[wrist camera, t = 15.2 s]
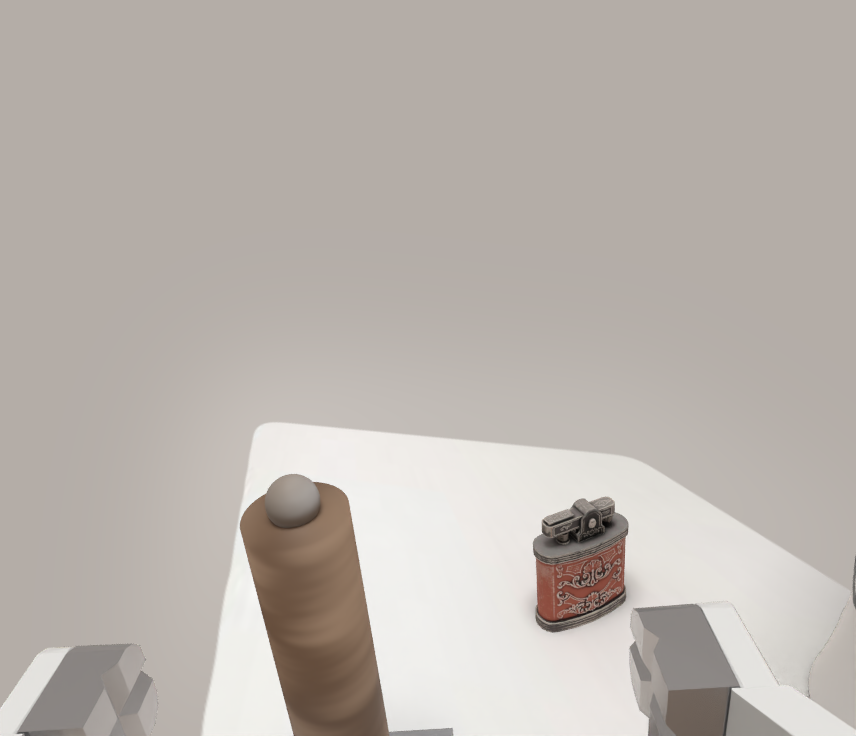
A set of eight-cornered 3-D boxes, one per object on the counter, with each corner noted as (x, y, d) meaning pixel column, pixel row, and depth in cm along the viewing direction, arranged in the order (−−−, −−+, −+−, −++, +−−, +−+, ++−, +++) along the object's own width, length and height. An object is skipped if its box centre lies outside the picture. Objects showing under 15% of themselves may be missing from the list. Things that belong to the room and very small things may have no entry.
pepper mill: (413, 785, 41) (358, 440, 31) (411, 886, 36) (344, 513, 26) (324, 791, 41) (240, 450, 31) (309, 892, 36) (204, 524, 26)
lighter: (609, 577, 56) (611, 479, 52) (635, 603, 54) (639, 501, 49) (527, 611, 54) (523, 510, 50) (550, 639, 51) (547, 535, 47)
